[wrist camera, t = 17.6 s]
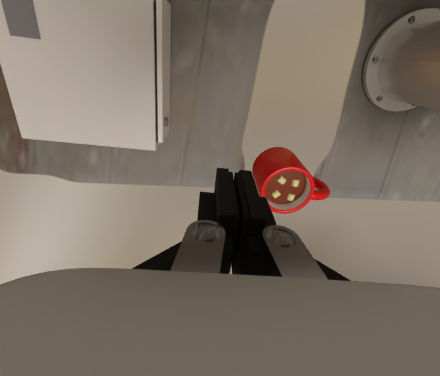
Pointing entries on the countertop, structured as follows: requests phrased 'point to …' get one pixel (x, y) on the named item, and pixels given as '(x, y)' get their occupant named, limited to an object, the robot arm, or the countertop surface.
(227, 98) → the countertop surface
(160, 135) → the drawer
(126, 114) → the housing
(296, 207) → the mug
